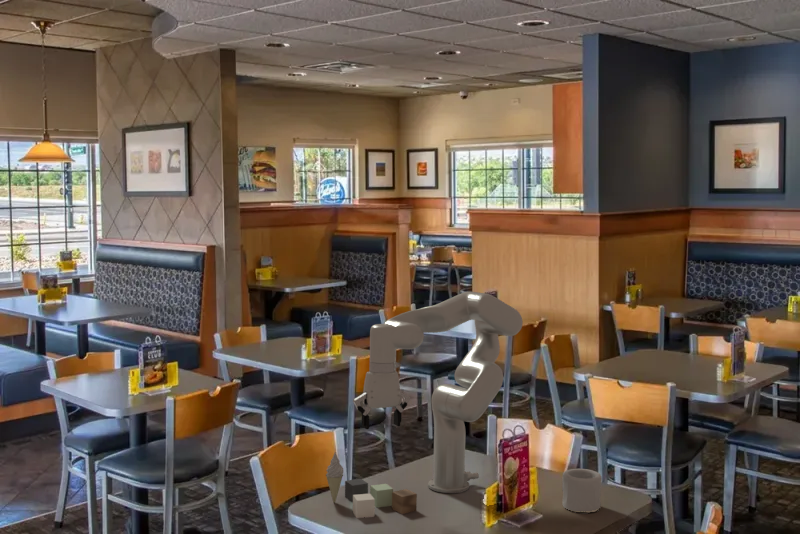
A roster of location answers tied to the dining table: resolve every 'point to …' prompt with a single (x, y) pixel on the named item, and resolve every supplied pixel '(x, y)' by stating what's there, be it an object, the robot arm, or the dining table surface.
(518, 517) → the dining table surface
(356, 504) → the offwhite block
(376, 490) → the sage block
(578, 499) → the mug
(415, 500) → the walnut block
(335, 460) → the ice cream cone
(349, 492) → the black block
